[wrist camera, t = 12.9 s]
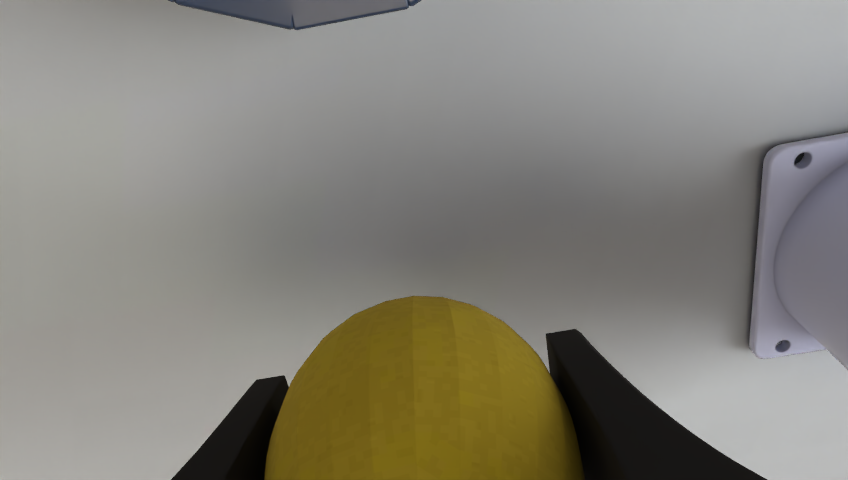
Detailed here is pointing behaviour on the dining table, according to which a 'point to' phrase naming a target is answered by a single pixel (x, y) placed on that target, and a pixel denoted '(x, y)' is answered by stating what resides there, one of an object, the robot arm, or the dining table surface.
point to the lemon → (423, 402)
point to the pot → (298, 10)
